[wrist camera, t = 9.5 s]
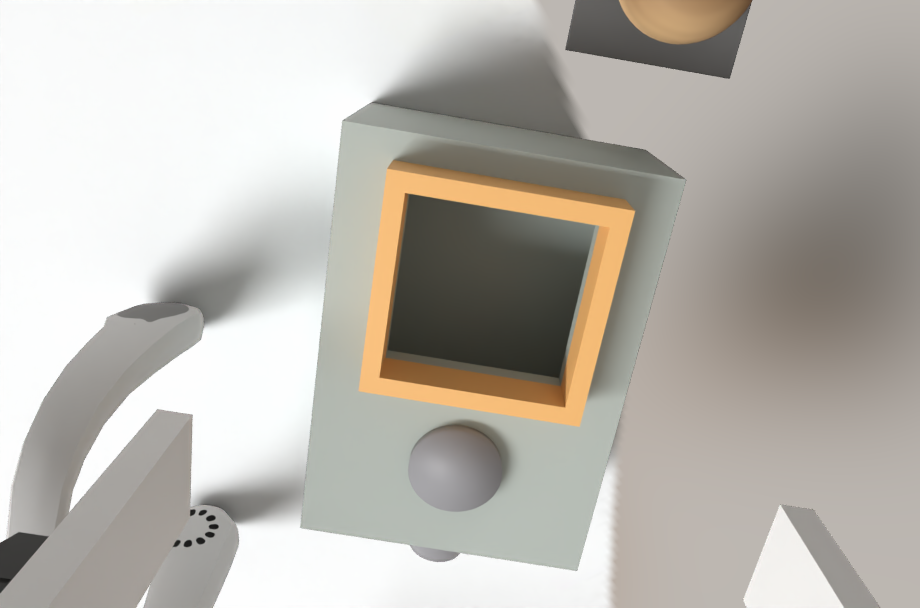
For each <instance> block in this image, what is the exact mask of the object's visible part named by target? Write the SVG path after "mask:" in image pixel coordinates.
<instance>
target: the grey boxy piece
mask: <svg viewBox="0 0 920 608" xmlns="http://www.w3.org/2000/svg"><path fill="white" fill-rule="evenodd" d="M685 183H686V179H685V178H683V177H682V176H681V175H679V174H678V173H676V172H675V171H674V170H672V169H671V168H670V167H668V166H667V165H666V164H664V163H663V162H662V161H660V160H659V159H657V158H656V157H655V156H653V155H652V154H650V153H649V152H648V151H646V150H643V149H638V148H632V147H626V146H620V145H615V144H608V143H603V142H597V141H591V140H586V139H580V138H574V137H568V136H563V135H557V134H551V133H545V132H539V131H534V130H528V129H522V128H516V127H510V126H505V125H499V124H493V123H487V122H481V121H476V120H470V119H464V118H458V117H453V116H447V115H441V114H435V113H429V112H424V111H418V110H412V109H406V108H400V107H395V106H389V105H383V104H377V103H369V104H368V105H366V106H365V107H363V108H362V109H360V110H358V111H357V112H355V113H354V114H352V115H350V116H349V117H347V118H346V119H344V120H343V121H342V129H341V138H340V148H339V158H338V167H337V177H336V187H335V197H334V206H333V216H332V226H331V235H330V245H329V255H328V264H327V274H326V284H325V294H324V303H323V313H322V323H321V332H320V342H319V352H318V362H317V371H316V381H315V391H314V400H313V410H312V420H311V429H310V439H309V449H308V459H307V468H306V478H305V488H304V497H303V507H302V517H301V526H300V528H303V529H310V530H316V531H323V532H329V533H336V534H342V535H349V536H355V537H361V538H368V539H374V540H381V541H387V542H394V543H400V544H407V545H410V546H411V548H412V550H413V551H414V552H415V553H416V554H417V555H419V556H420V557H422V558H424V559H427V560H430V561H435V562H445V561H449V560H452V559H454V558H456V557H457V556H458V555H459V554H460V553H465V554H471V555H478V556H484V557H491V558H497V559H503V560H510V561H516V562H523V563H529V564H536V565H542V566H549V567H555V568H561V569H568V570H574V571H577V570H578V566H579V562H580V559H581V555H582V552H583V548H584V545H585V541H586V537H587V534H588V530H589V527H590V523H591V519H592V516H593V512H594V509H595V505H596V502H597V498H598V494H599V491H600V487H601V484H602V480H603V476H604V473H605V469H606V466H607V462H608V459H609V455H610V451H611V448H612V444H613V441H614V437H615V433H616V430H617V426H618V423H619V419H620V416H621V412H622V408H623V405H624V401H625V398H626V394H627V390H628V387H629V383H630V380H631V376H632V373H633V369H634V365H635V362H636V358H637V354H638V351H639V348H640V344H641V340H642V337H643V333H644V329H645V326H646V322H647V319H648V315H649V312H650V308H651V304H652V301H653V297H654V294H655V290H656V287H657V283H658V279H659V276H660V272H661V269H662V265H663V262H664V258H665V254H666V251H667V247H668V244H669V240H670V236H671V233H672V229H673V226H674V222H675V218H676V215H677V211H678V207H679V204H680V200H681V197H682V193H683V190H684V186H685Z"/></svg>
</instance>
